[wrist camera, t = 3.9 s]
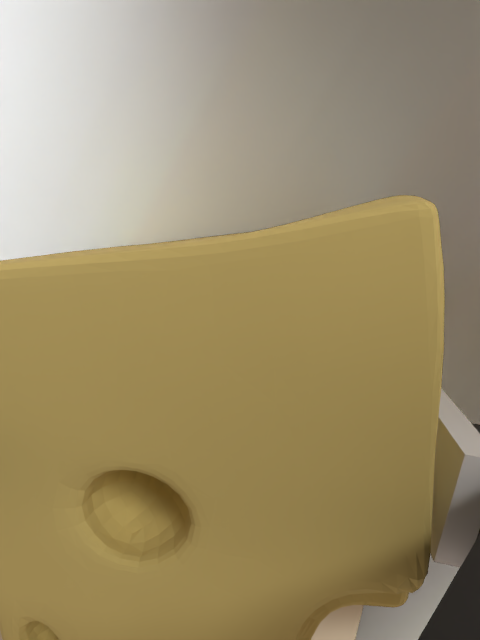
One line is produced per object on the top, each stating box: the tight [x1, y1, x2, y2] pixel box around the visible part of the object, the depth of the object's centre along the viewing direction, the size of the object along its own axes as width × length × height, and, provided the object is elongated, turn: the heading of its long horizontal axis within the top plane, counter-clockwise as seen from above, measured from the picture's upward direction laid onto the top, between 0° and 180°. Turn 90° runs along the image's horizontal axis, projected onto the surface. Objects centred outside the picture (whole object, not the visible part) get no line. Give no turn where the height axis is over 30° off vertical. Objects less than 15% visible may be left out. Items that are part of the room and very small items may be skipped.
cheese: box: [0, 195, 445, 640], centre depth 13 cm, size 10×11×10 cm
